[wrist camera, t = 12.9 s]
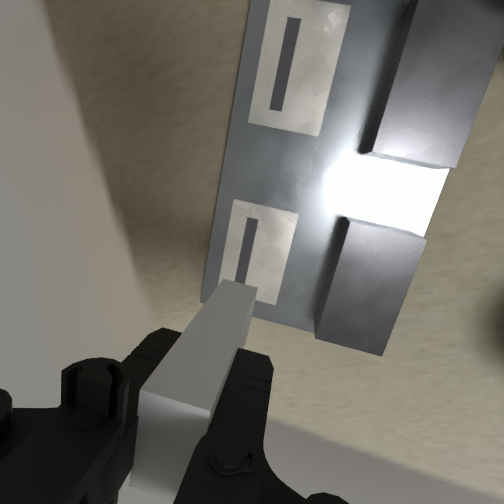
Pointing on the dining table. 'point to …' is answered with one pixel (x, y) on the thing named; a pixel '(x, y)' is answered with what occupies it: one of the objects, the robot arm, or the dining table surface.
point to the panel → (345, 154)
